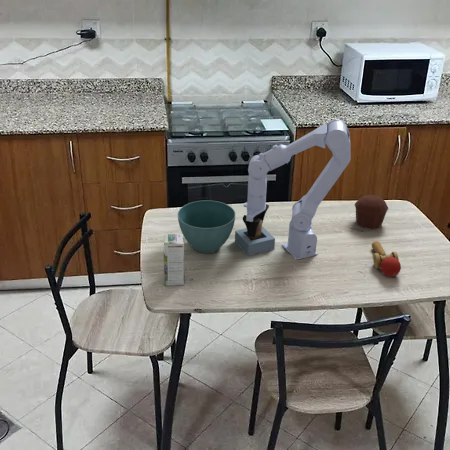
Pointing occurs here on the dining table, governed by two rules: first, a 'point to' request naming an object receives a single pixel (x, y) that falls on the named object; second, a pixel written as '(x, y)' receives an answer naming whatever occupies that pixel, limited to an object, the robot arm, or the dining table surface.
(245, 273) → the dining table surface
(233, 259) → the dining table surface
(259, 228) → the peg
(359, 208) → the muffin
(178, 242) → the syrup box
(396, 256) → the kendama
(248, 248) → the socket
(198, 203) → the teal bowl
